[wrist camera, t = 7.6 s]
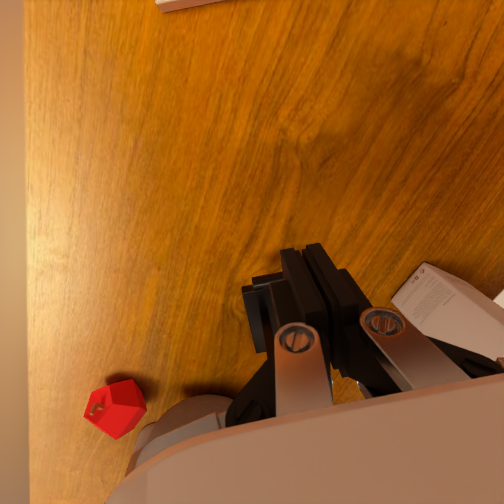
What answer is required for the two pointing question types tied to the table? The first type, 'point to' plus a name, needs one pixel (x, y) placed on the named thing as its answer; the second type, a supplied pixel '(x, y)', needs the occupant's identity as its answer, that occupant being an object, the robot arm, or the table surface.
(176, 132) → the table surface
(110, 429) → the apple
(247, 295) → the bracket
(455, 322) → the cosmetic box
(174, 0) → the block
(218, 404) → the planter
